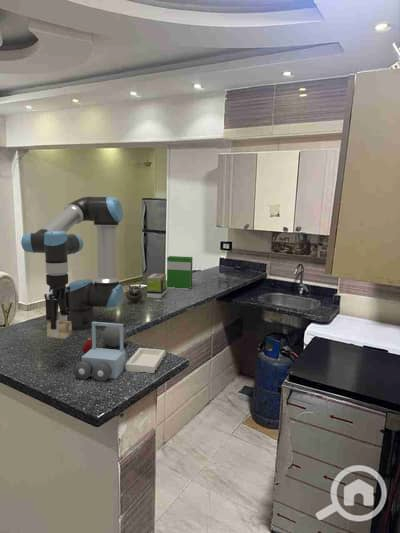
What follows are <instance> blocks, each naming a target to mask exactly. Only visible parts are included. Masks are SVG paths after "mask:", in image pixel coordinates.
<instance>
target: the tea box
mask: <svg viewBox="0 0 400 533" xmlns="http://www.w3.org/2000/svg"><path fill="white" fill-rule="evenodd" d="M165 293H166V294H167V273H151V274H150V275H148V276H147V277H146V298H147V297H151V298H161V299H162V298H163V297H164V296H165V295H166V294H165ZM164 294H165V295H164ZM163 295H164V296H163ZM162 296H163V297H162Z"/></svg>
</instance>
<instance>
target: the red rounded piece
mask: <svg viewBox="0 0 400 533" xmlns="http://www.w3.org/2000/svg"><path fill="white" fill-rule="evenodd" d="M96 348H99V347H98V344H97V343H96ZM91 349H92V338H90V337H88V339H87V340H86V341H85V342H84V343H83V345H82V352H83V355H85V354H86V353H87V352H88V351H89V350H91Z"/></svg>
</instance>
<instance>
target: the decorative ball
mask: <svg viewBox="0 0 400 533" xmlns="http://www.w3.org/2000/svg"><path fill="white" fill-rule="evenodd" d="M126 336H127V332H126V329H125V327H123V343H124V342H125V340H126V338H127V337H126ZM102 341H104V343H105V344H106V345H107V347H108V346H109V347H111V348H112V347H113V348H117V347H120V327H109V326H105V328H104V330H103V331H102Z"/></svg>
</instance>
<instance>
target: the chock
mask: <svg viewBox="0 0 400 533" xmlns="http://www.w3.org/2000/svg"><path fill="white" fill-rule="evenodd" d="M58 320H59V319H58ZM72 334H73V330H72V325H71V321H61V320H59V338H58V339H66V338H68V337H69V336H71V335H72ZM46 336H47V338H54V339H56V338H55V337H51V322H48V323H46Z"/></svg>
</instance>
